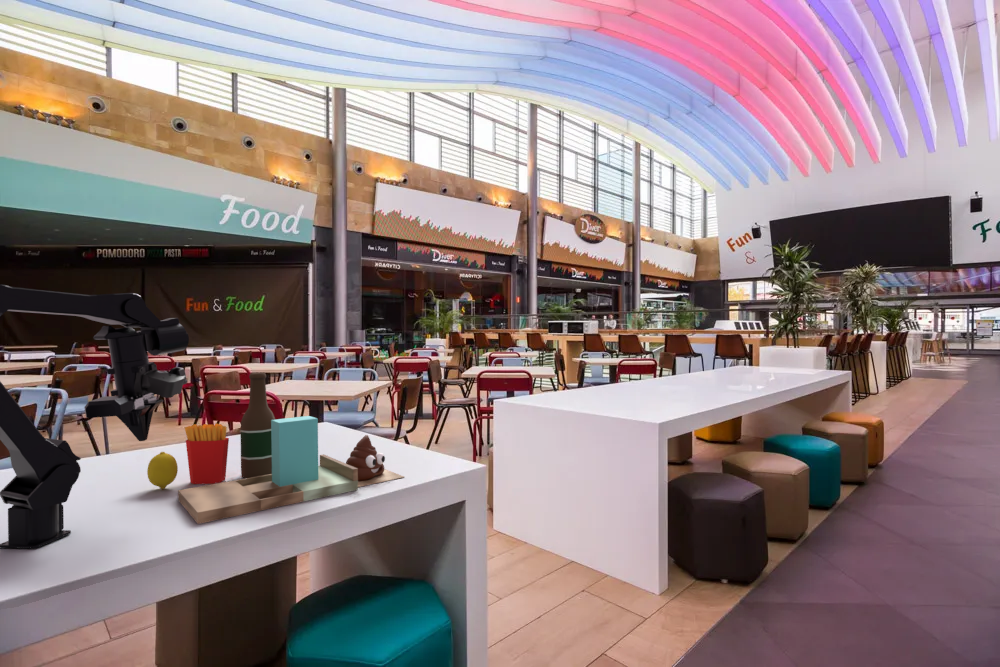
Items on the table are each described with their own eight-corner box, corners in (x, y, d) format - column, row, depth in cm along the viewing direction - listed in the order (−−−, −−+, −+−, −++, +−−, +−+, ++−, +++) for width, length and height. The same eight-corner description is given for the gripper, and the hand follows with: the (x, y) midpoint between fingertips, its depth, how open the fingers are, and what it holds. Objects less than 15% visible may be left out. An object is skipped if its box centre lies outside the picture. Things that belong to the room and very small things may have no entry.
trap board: (197, 523, 94) (197, 498, 94) (178, 500, 108) (178, 477, 108) (357, 489, 113) (357, 468, 113) (324, 473, 127) (323, 454, 127)
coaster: (351, 488, 114) (351, 487, 114) (326, 476, 124) (326, 475, 124) (404, 477, 123) (404, 476, 123) (377, 466, 132) (377, 466, 132)
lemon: (163, 493, 112) (162, 455, 112) (141, 492, 114) (140, 454, 114) (183, 485, 118) (183, 449, 118) (162, 484, 119) (162, 448, 119)
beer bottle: (264, 479, 122) (263, 374, 122) (233, 478, 123) (232, 374, 123) (283, 470, 130) (282, 371, 130) (254, 470, 131) (252, 371, 131)
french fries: (231, 478, 123) (231, 422, 123) (222, 483, 119) (221, 425, 119) (192, 478, 123) (191, 422, 123) (180, 484, 119) (180, 425, 119)
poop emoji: (365, 469, 130) (364, 430, 130) (393, 473, 126) (392, 433, 126) (335, 479, 121) (334, 438, 121) (364, 484, 117) (364, 441, 117)
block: (279, 486, 109) (279, 422, 109) (272, 481, 113) (271, 420, 113) (318, 479, 114) (317, 418, 114) (309, 474, 118) (308, 415, 118)
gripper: (141, 366, 91) (155, 454, 93) (200, 349, 110) (210, 423, 112) (75, 371, 91) (90, 459, 93) (145, 353, 110) (157, 427, 112)
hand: (143, 440), depth 102 cm, fingers closed
